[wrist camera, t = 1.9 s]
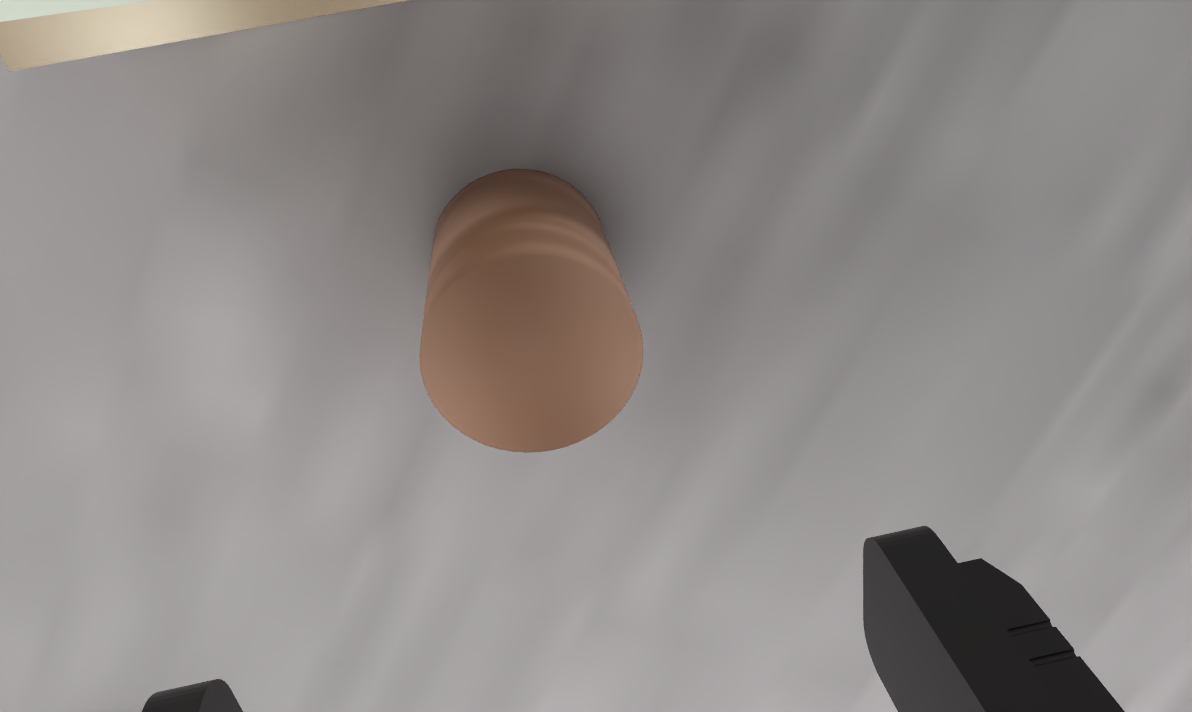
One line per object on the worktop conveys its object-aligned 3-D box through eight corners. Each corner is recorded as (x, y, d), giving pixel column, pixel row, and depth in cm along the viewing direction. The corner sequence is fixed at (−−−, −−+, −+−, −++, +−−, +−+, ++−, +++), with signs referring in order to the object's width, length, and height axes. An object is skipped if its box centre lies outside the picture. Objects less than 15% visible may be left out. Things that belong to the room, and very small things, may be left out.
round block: (590, 153, 22) (626, 234, 17) (616, 312, 24) (655, 428, 19) (412, 187, 22) (392, 281, 16) (455, 345, 24) (450, 471, 19)
